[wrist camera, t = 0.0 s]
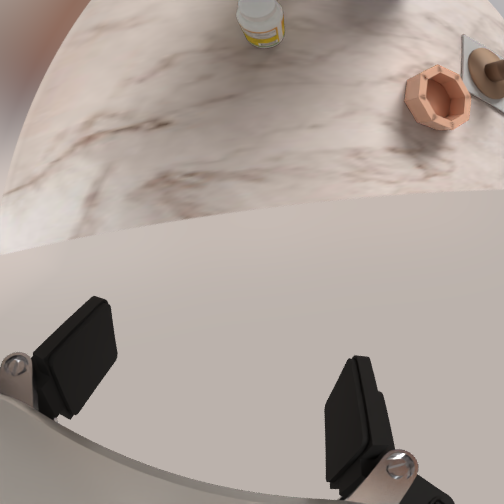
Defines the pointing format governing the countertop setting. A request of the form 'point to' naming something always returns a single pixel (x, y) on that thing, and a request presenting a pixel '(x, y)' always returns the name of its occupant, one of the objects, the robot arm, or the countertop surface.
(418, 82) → the octagonal peach pot
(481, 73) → the lid
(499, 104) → the mat
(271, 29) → the supplement bottle
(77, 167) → the countertop surface
